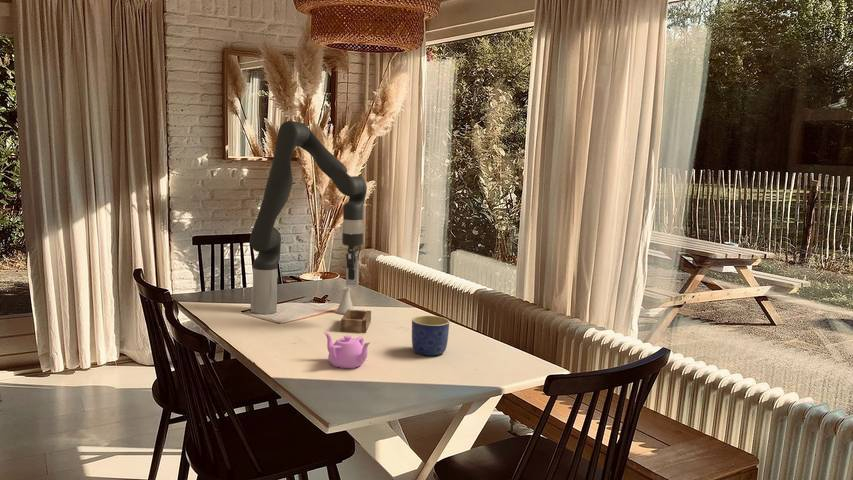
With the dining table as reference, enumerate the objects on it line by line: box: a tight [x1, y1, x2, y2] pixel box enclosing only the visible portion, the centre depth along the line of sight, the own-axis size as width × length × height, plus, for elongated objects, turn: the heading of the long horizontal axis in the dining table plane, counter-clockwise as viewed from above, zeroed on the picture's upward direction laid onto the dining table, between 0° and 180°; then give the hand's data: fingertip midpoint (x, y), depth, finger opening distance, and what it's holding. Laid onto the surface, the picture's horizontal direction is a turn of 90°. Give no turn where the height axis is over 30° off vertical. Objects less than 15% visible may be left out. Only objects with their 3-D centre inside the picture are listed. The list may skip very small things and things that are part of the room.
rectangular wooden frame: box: [340, 309, 372, 334], centre depth 259 cm, size 9×15×4 cm, turn 177°
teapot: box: [323, 331, 371, 369], centre depth 217 cm, size 12×14×9 cm
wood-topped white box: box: [345, 258, 360, 287], centre depth 256 cm, size 4×4×9 cm
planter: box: [411, 315, 450, 356], centre depth 233 cm, size 12×12×11 cm
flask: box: [336, 286, 355, 315], centre depth 279 cm, size 7×7×10 cm
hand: (352, 278), depth 257 cm, fingers closed on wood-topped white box, 4 cm apart
